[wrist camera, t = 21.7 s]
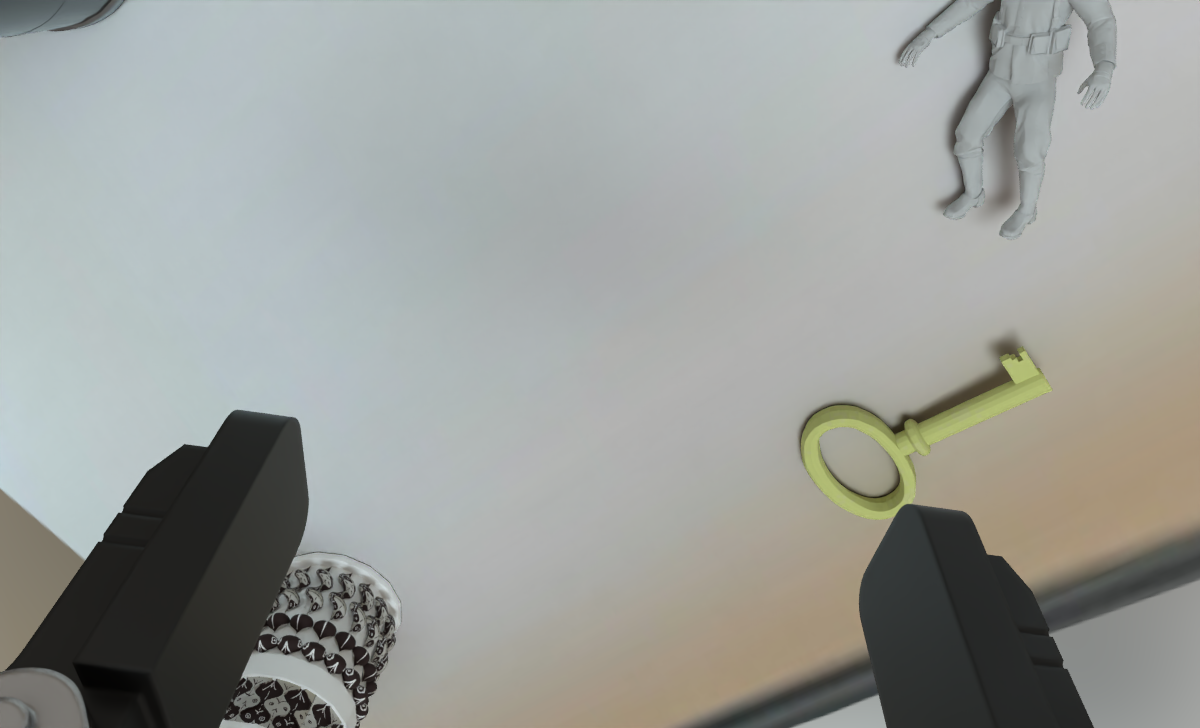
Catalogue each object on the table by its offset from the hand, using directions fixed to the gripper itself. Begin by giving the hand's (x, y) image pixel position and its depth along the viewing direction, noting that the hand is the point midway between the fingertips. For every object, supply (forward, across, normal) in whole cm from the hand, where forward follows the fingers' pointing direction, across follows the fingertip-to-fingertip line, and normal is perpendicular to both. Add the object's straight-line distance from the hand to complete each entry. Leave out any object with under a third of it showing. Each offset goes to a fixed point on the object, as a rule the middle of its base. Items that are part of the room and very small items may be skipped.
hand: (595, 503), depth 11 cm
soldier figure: (+27, -15, 0) cm, 31 cm away
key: (+24, -17, +17) cm, 34 cm away
